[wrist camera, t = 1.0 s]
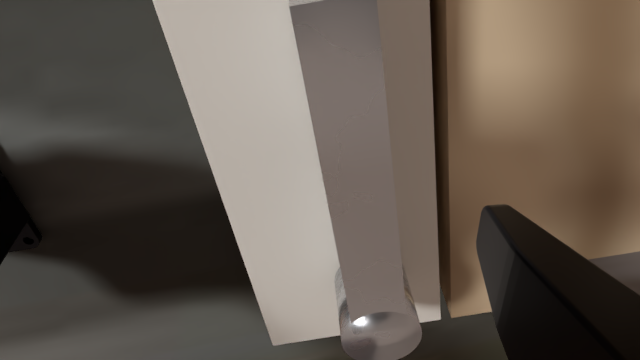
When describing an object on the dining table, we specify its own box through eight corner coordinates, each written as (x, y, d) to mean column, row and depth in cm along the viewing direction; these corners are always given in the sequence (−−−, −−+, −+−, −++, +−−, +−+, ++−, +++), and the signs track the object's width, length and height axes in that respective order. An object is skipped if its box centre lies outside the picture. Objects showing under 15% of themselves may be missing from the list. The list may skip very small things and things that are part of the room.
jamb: (274, 269, 28) (273, 345, 24) (121, -234, 16) (63, -252, 11) (417, 246, 28) (440, 319, 24) (381, -288, 15) (418, -327, 11)
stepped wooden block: (426, 245, 28) (474, 385, 21) (397, -292, 15) (496, -383, 8) (601, 216, 28) (709, 350, 21) (723, -359, 15) (1112, -514, 8)
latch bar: (407, 297, 22) (423, 356, 20) (339, 308, 22) (346, 368, 20) (377, -44, 14) (397, -14, 12) (270, -23, 14) (267, 10, 12)
